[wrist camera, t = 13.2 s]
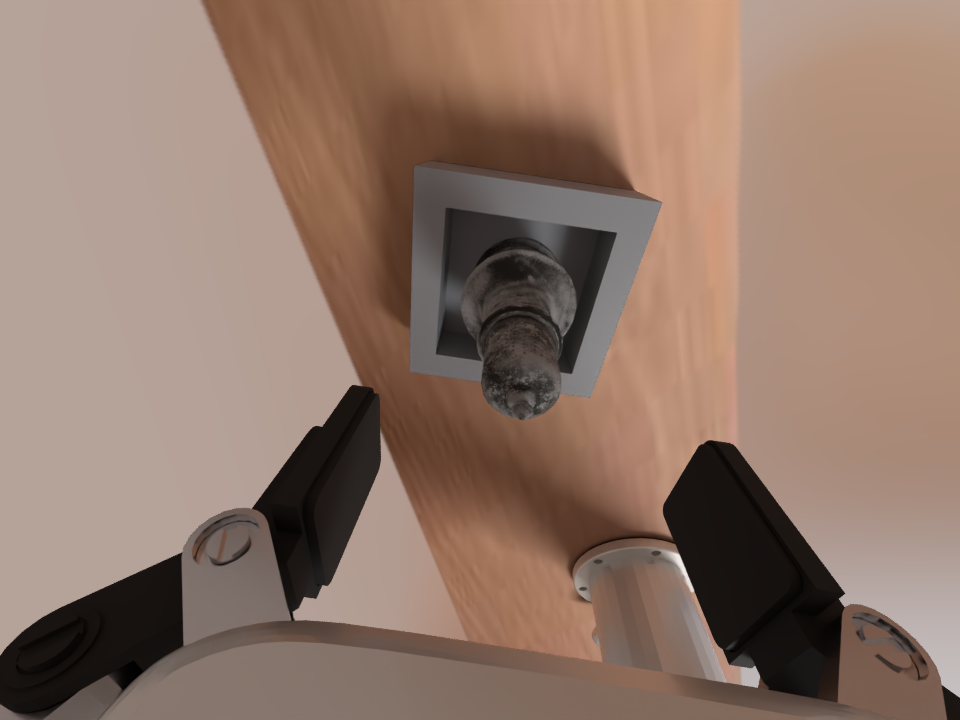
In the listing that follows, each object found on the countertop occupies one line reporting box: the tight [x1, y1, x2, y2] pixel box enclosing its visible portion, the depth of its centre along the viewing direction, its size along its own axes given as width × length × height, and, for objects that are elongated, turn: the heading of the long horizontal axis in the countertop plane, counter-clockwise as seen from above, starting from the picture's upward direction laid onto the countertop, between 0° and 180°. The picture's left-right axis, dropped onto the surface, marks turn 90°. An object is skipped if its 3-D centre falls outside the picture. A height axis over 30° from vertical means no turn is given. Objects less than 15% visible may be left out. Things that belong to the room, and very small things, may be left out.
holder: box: [409, 161, 662, 398], centre depth 20 cm, size 11×11×4 cm
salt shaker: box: [460, 238, 577, 420], centre depth 16 cm, size 6×6×12 cm
